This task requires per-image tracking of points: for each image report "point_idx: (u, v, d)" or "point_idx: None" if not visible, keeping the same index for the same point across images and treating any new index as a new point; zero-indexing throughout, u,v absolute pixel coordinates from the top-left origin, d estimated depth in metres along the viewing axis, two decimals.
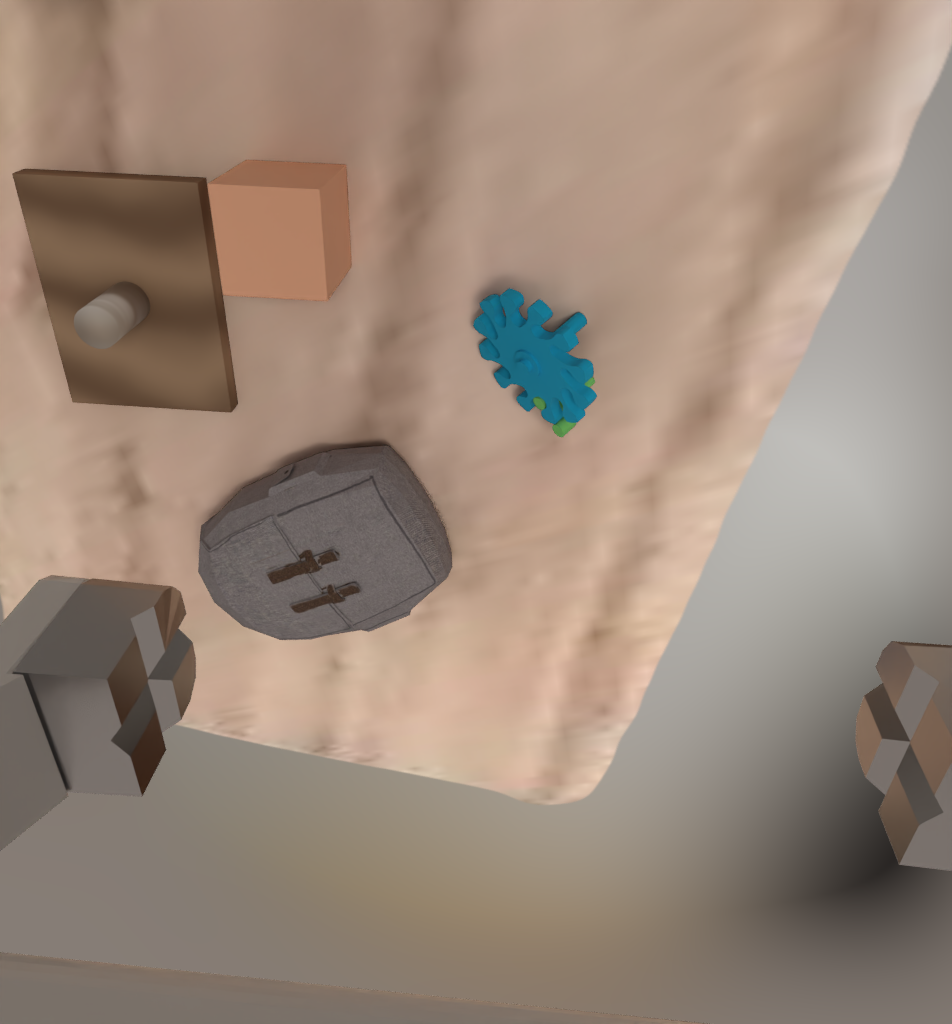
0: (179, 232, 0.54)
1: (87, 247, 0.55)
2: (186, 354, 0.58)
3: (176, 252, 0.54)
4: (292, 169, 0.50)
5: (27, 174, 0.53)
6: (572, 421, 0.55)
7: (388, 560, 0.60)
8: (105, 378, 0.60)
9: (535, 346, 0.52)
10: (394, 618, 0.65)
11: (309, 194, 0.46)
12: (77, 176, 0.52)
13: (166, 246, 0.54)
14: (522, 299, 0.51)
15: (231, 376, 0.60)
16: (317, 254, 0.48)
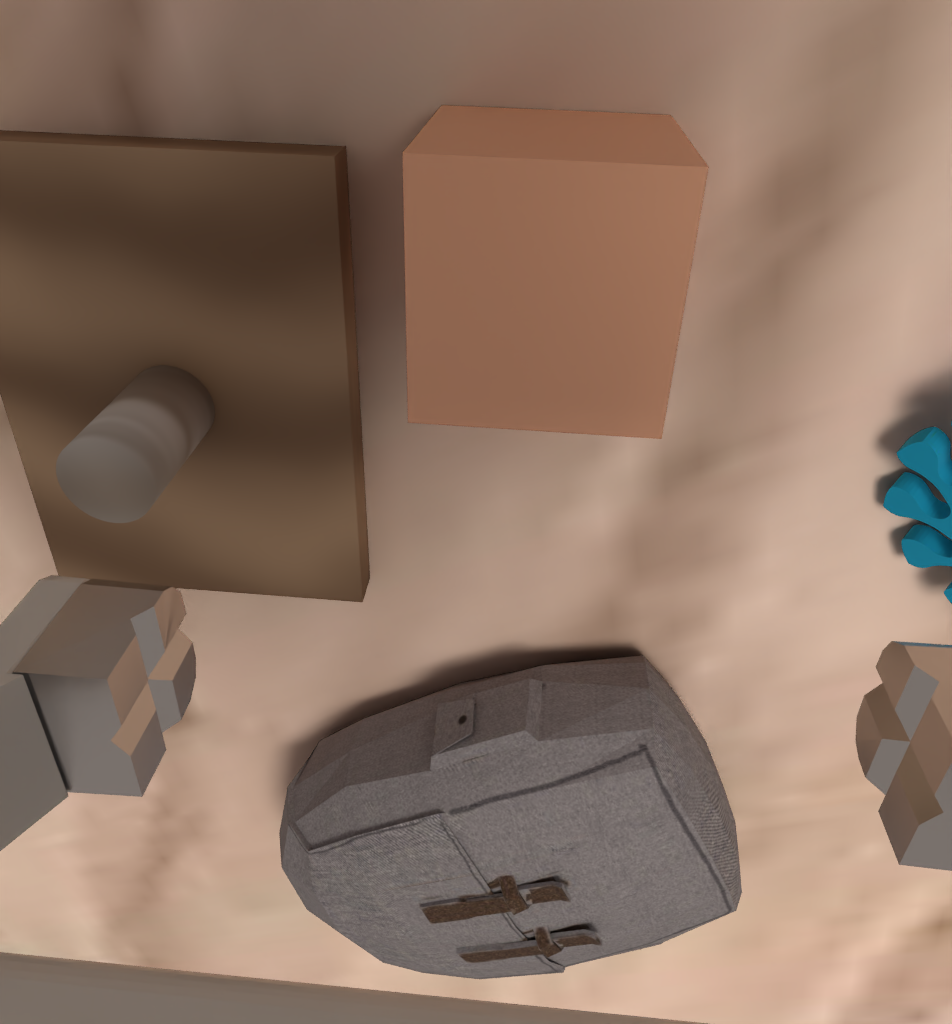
0: (285, 266, 0.25)
1: (86, 296, 0.26)
2: (284, 502, 0.29)
3: (276, 307, 0.25)
4: (568, 123, 0.21)
5: None
6: None
7: (658, 891, 0.31)
8: (121, 540, 0.31)
9: None
10: (633, 949, 0.36)
11: (676, 180, 0.17)
12: (63, 143, 0.23)
13: (254, 295, 0.25)
14: None
15: (365, 535, 0.31)
16: (662, 332, 0.19)
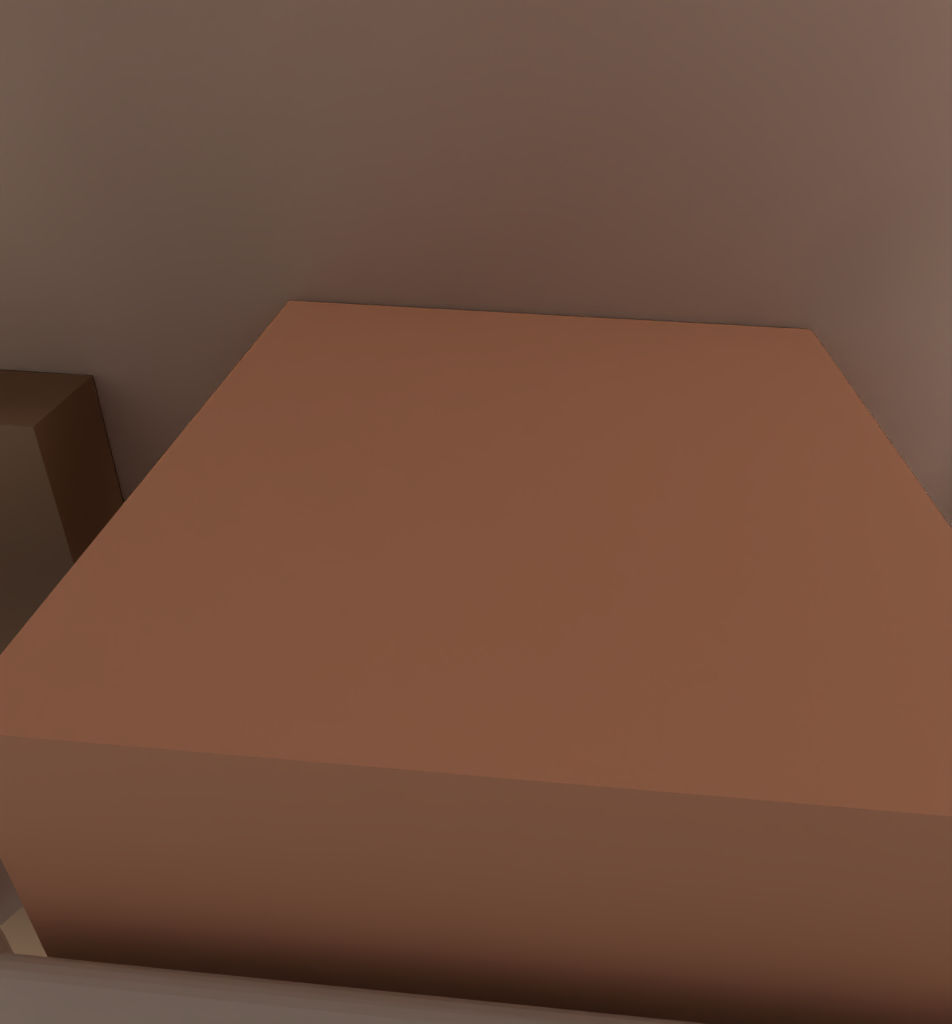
0: None
1: None
2: None
3: None
4: (576, 389, 0.08)
5: None
6: None
7: None
8: None
9: None
10: None
11: None
12: None
13: None
14: None
15: None
16: None
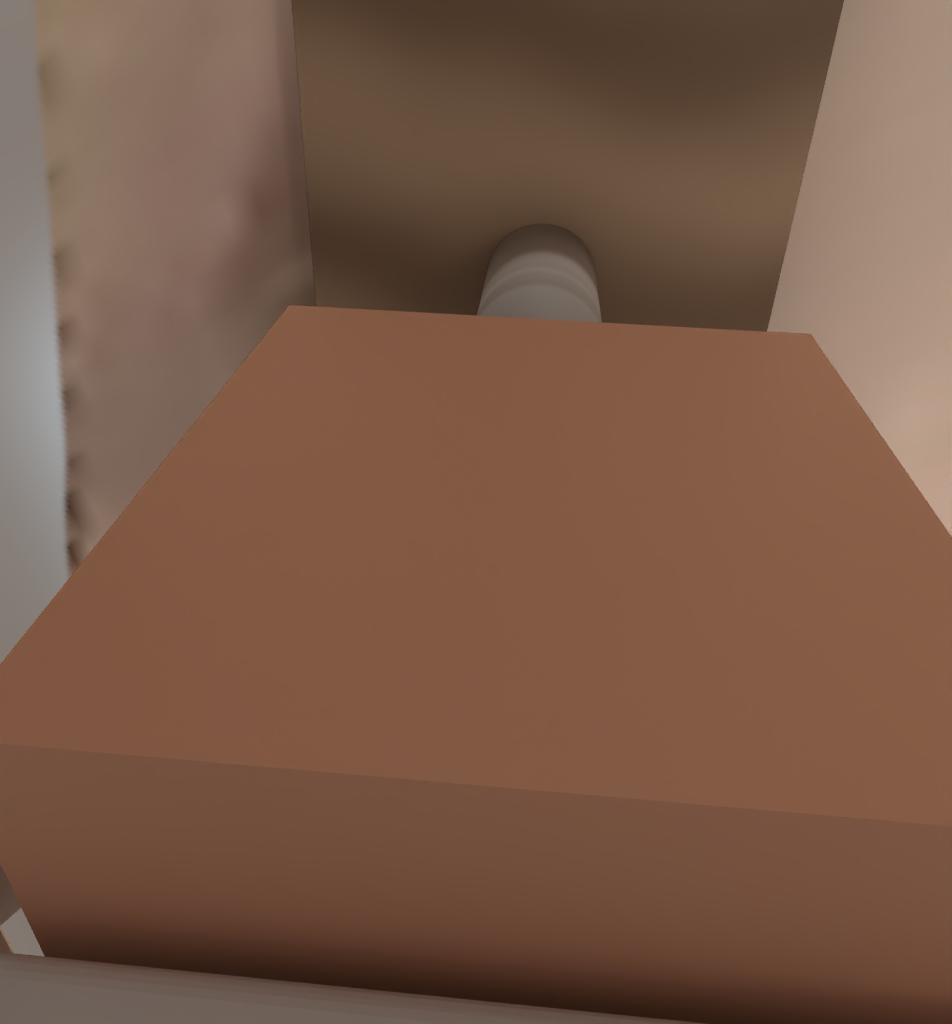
0: (749, 74, 0.19)
1: (461, 125, 0.20)
2: None
3: (718, 136, 0.19)
4: (576, 395, 0.08)
5: None
6: None
7: None
8: None
9: None
10: None
11: None
12: None
13: (693, 119, 0.19)
14: None
15: None
16: None
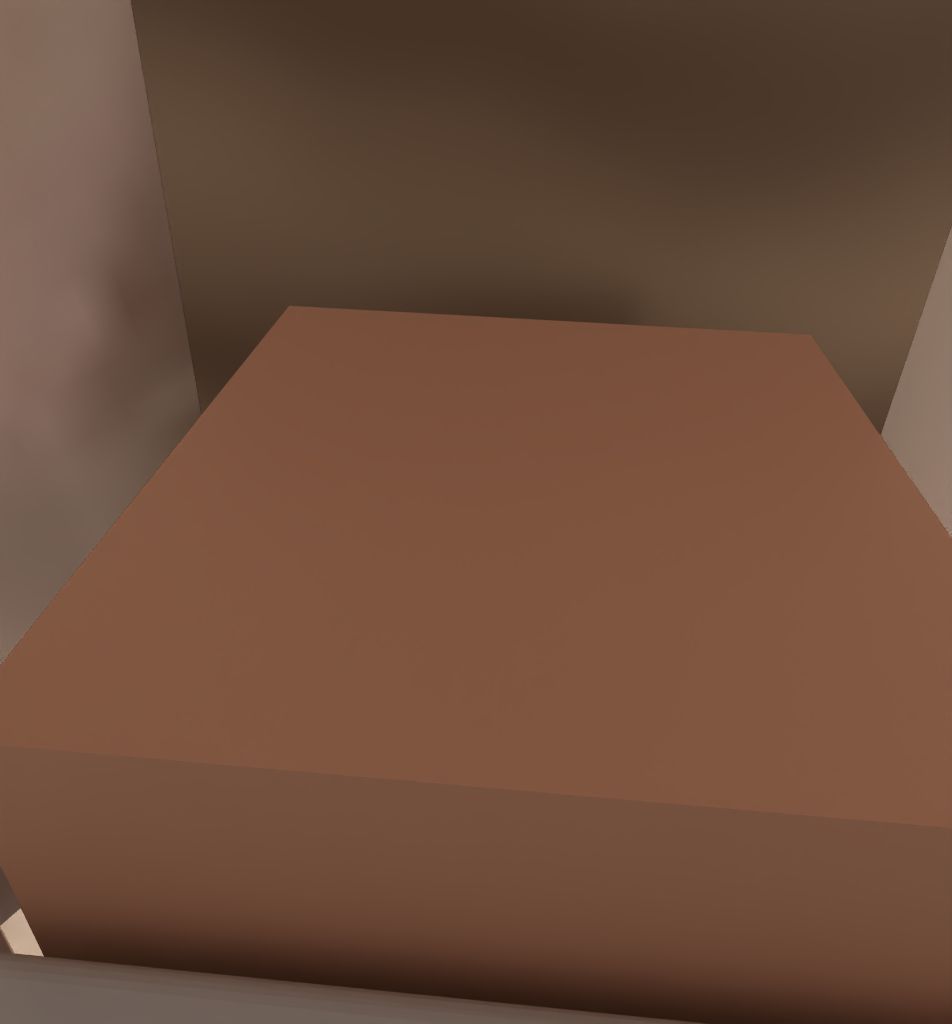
0: (860, 125, 0.12)
1: (407, 198, 0.13)
2: None
3: (806, 218, 0.12)
4: (576, 396, 0.08)
5: None
6: None
7: None
8: None
9: None
10: None
11: None
12: None
13: (769, 193, 0.12)
14: None
15: None
16: None
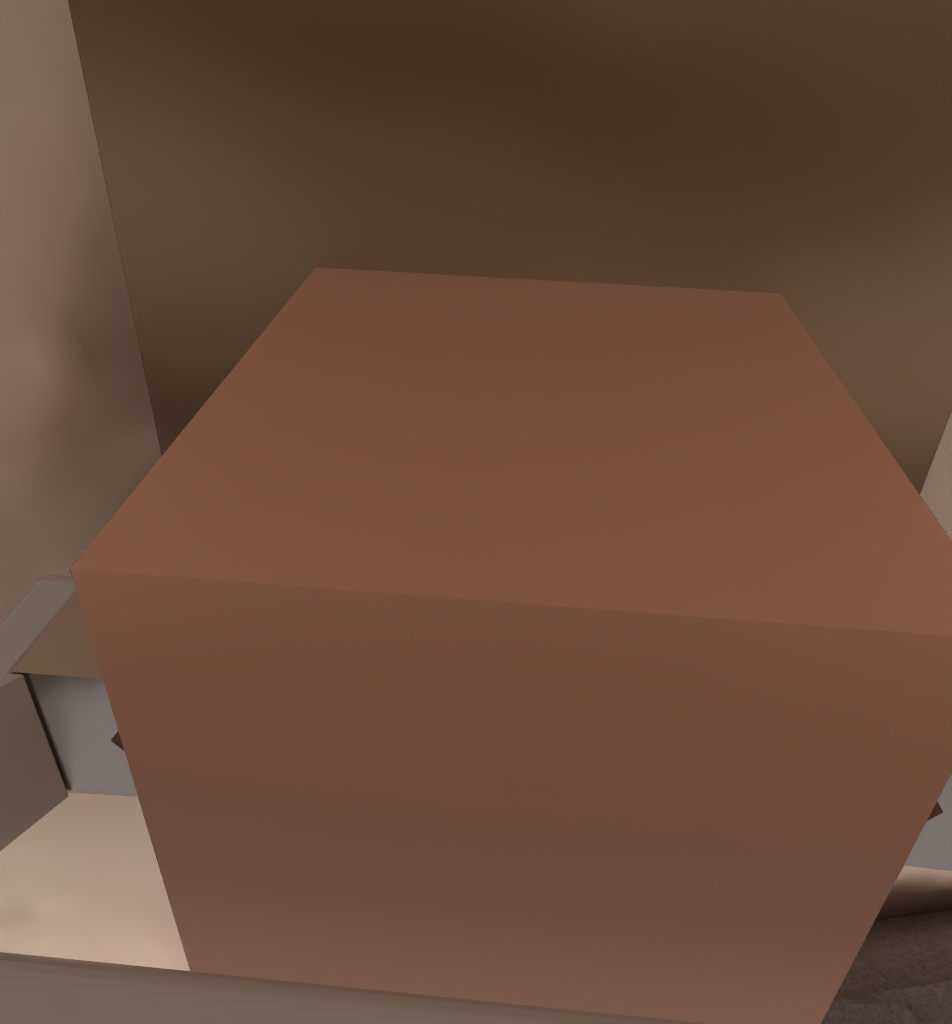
0: (903, 164, 0.10)
1: (390, 244, 0.11)
2: None
3: (839, 266, 0.11)
4: (571, 339, 0.10)
5: None
6: None
7: None
8: None
9: None
10: None
11: (910, 665, 0.06)
12: None
13: (797, 238, 0.11)
14: None
15: None
16: (815, 940, 0.07)
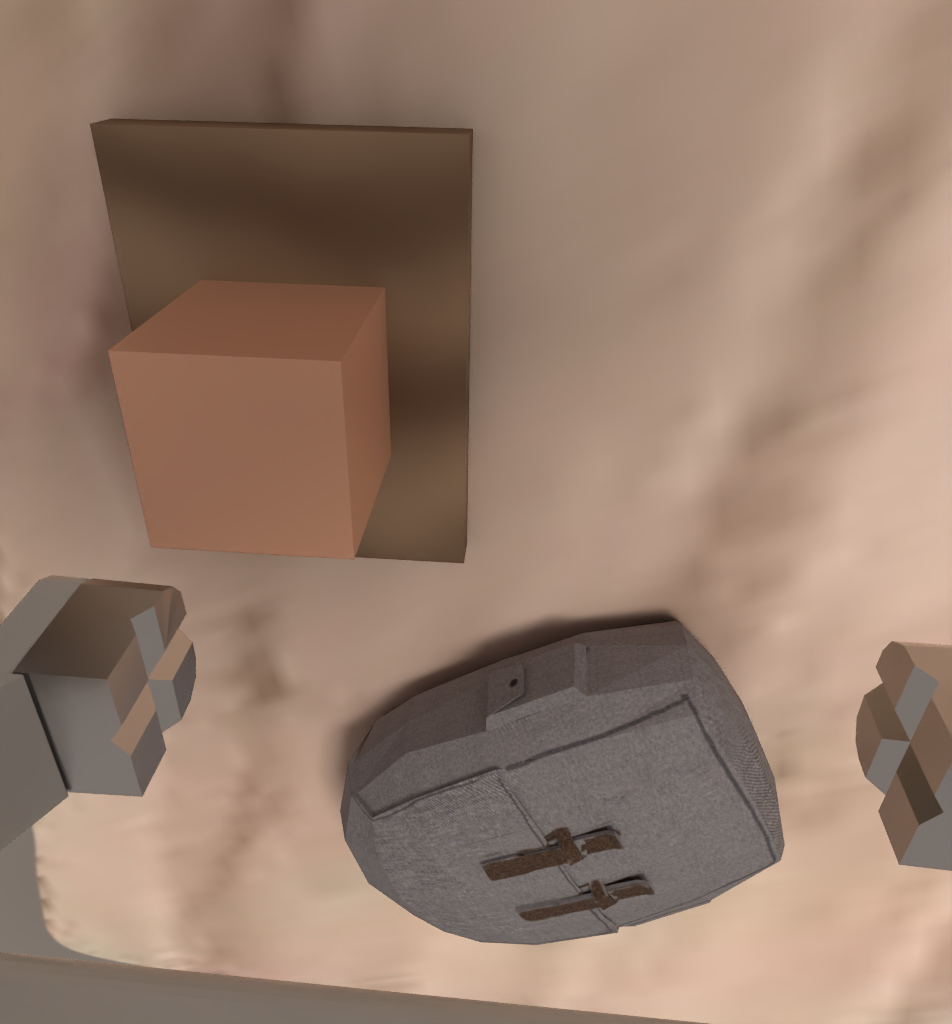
0: (416, 237, 0.27)
1: (229, 270, 0.28)
2: (396, 465, 0.32)
3: (404, 276, 0.28)
4: (285, 302, 0.26)
5: (120, 125, 0.26)
6: None
7: (705, 838, 0.33)
8: None
9: None
10: (683, 908, 0.38)
11: (319, 370, 0.22)
12: (221, 127, 0.26)
13: (385, 266, 0.28)
14: None
15: (466, 499, 0.33)
16: (335, 479, 0.24)
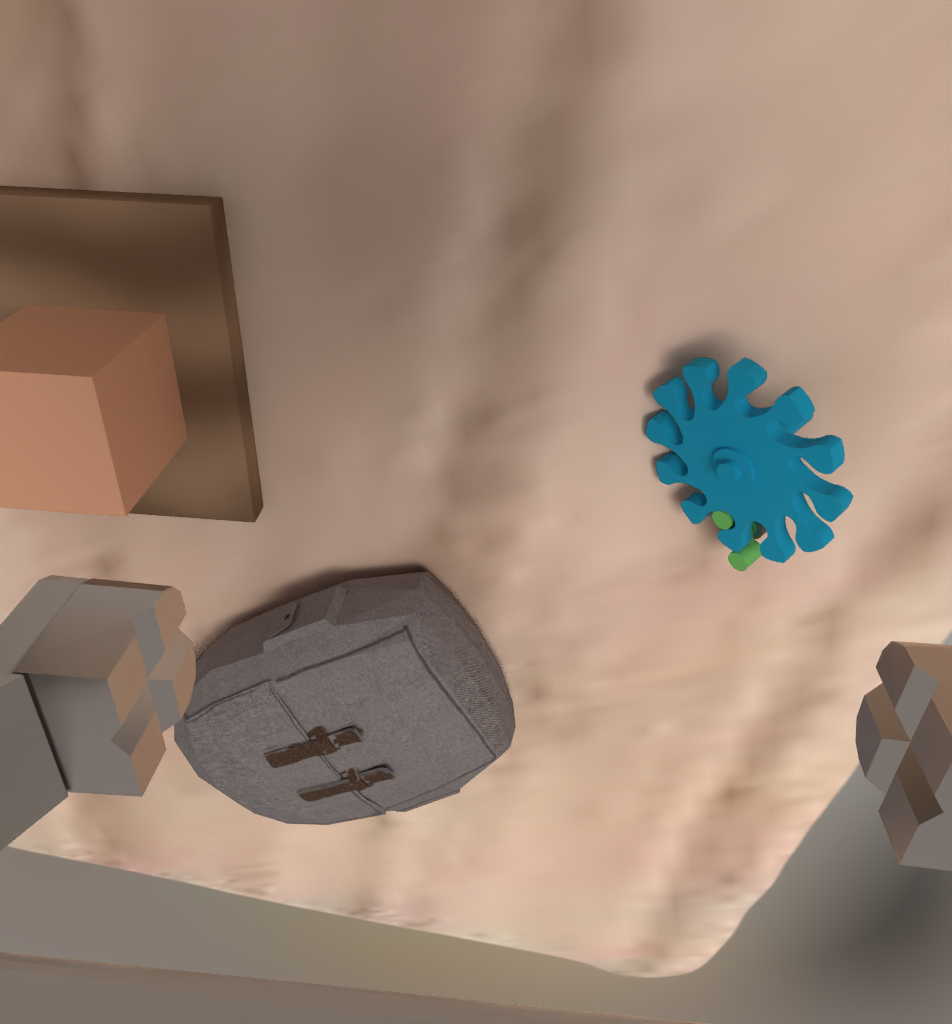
0: (182, 277, 0.36)
1: (48, 298, 0.37)
2: (193, 446, 0.41)
3: (178, 305, 0.37)
4: (81, 326, 0.36)
5: None
6: (773, 559, 0.38)
7: (430, 736, 0.43)
8: None
9: (762, 449, 0.35)
10: (439, 797, 0.48)
11: (78, 383, 0.32)
12: (30, 195, 0.35)
13: (163, 297, 0.37)
14: (764, 379, 0.34)
15: (255, 472, 0.43)
16: (102, 459, 0.34)
